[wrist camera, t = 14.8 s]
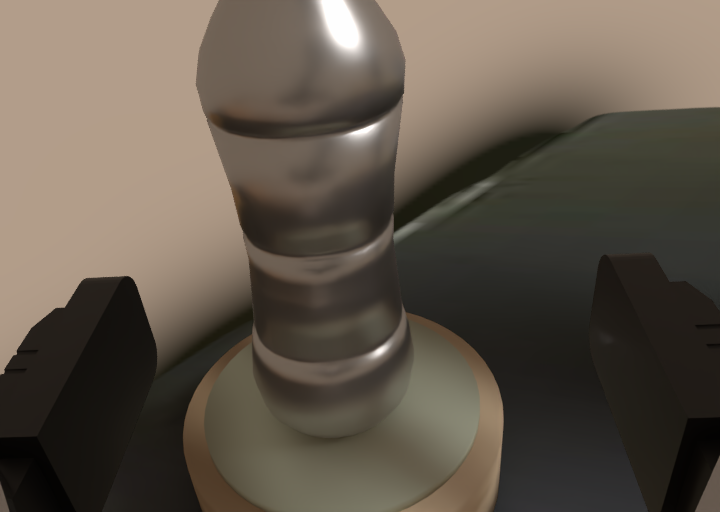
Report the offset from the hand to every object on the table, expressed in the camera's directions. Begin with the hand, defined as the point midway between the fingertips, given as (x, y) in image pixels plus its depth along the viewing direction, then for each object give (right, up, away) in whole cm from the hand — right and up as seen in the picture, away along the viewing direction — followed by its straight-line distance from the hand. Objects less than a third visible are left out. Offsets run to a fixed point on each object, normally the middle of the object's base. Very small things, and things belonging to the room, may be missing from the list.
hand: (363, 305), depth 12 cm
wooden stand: (-1, -9, +20) cm, 22 cm away
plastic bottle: (-1, -6, +18) cm, 19 cm away
